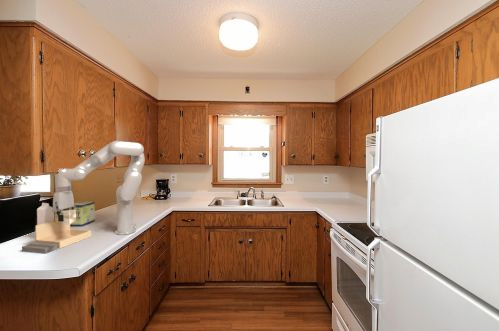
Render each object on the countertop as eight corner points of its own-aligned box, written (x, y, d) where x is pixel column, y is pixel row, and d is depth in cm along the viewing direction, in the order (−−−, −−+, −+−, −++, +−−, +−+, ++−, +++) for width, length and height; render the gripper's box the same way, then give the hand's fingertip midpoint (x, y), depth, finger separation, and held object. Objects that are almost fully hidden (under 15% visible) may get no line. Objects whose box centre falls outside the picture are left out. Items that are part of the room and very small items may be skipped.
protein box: (67, 226, 183) (66, 205, 183) (82, 221, 199) (81, 201, 198) (81, 226, 183) (81, 205, 182) (95, 221, 199) (95, 201, 198)
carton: (69, 235, 163) (69, 216, 162) (91, 237, 160) (90, 218, 159) (36, 247, 142) (35, 225, 142) (59, 249, 139) (59, 227, 139)
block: (62, 221, 154) (61, 209, 154) (76, 221, 152) (75, 210, 152) (55, 223, 150) (54, 211, 149) (69, 223, 148) (68, 211, 147)
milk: (48, 237, 160) (47, 202, 159) (55, 238, 158) (54, 202, 157) (37, 239, 154) (36, 203, 154) (44, 241, 152) (43, 204, 151)
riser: (34, 247, 141) (34, 242, 141) (57, 249, 138) (57, 244, 138) (22, 252, 135) (21, 246, 134) (45, 254, 132) (45, 248, 132)
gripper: (70, 187, 159) (72, 216, 160) (44, 191, 142) (45, 223, 143) (81, 187, 157) (82, 216, 158) (55, 191, 141) (56, 224, 142)
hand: (65, 219), depth 151 cm, fingers closed on block, 4 cm apart
